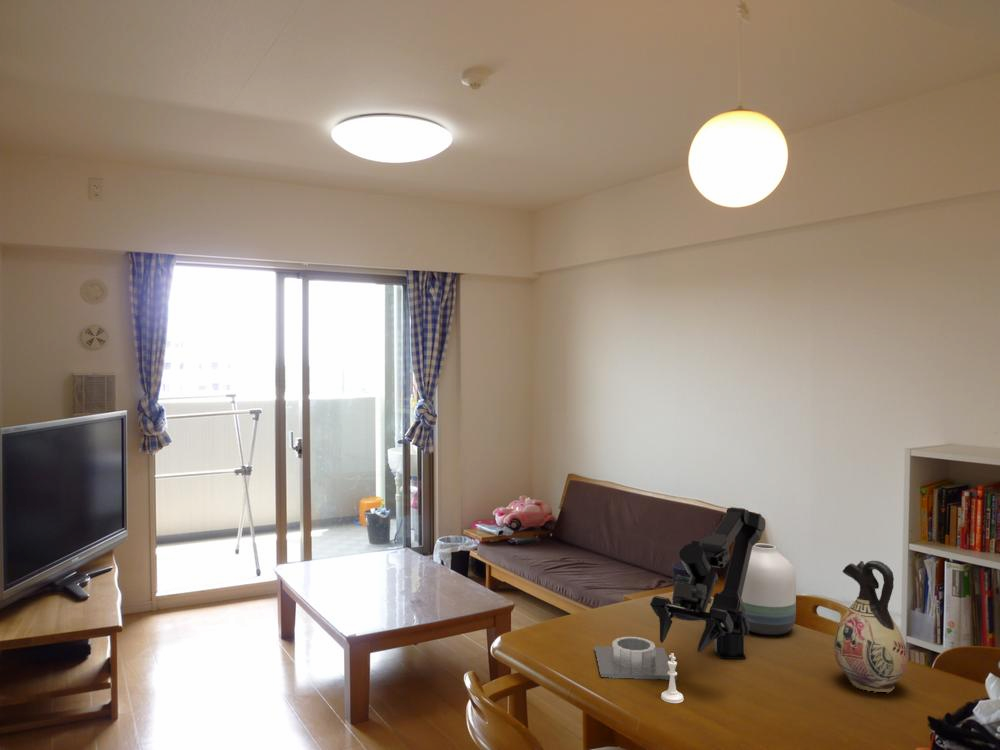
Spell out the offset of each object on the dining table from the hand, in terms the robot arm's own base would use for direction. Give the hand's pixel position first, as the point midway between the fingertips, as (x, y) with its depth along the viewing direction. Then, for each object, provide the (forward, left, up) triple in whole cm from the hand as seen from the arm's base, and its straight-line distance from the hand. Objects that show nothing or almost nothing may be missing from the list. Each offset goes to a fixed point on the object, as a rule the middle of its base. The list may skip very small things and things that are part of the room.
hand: (679, 646), depth 163 cm
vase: (-33, -44, -11) cm, 56 cm away
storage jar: (-14, -55, -11) cm, 58 cm away
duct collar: (+8, -16, -10) cm, 21 cm away
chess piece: (+2, +3, -11) cm, 11 cm away
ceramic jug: (-46, -6, -11) cm, 48 cm away
